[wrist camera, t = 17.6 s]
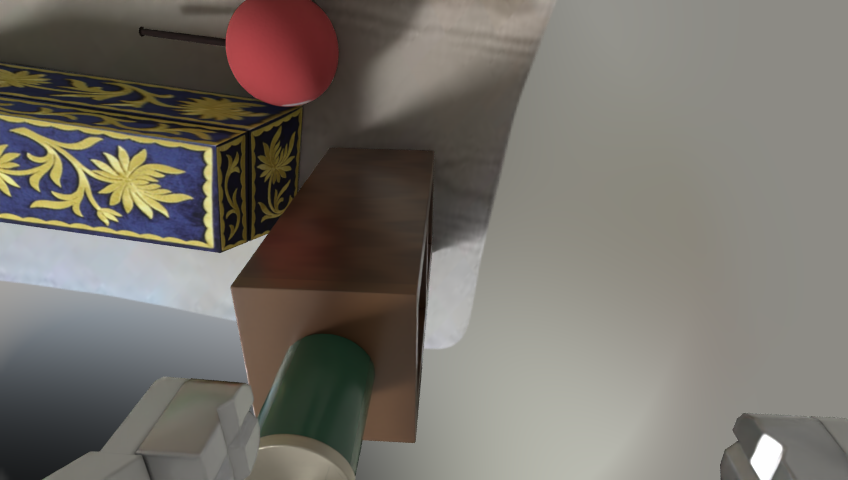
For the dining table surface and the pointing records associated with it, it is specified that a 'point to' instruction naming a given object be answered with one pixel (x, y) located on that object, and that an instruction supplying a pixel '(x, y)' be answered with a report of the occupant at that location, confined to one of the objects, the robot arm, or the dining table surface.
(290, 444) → the tin
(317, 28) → the lollipop
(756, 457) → the robot arm
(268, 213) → the decorative box
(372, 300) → the shelf
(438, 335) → the dining table surface
